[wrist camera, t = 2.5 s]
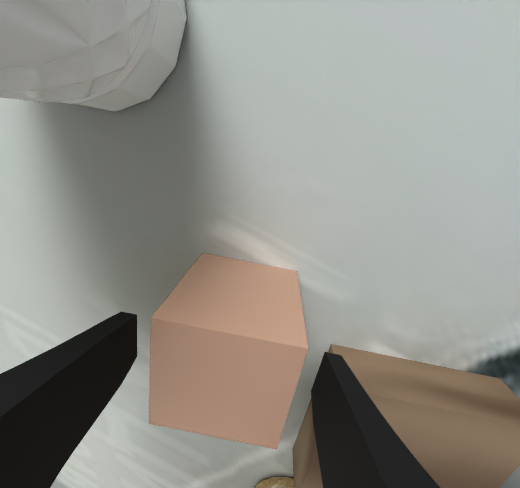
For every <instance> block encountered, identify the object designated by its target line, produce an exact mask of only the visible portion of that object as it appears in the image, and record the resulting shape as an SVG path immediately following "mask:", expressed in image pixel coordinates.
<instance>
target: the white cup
mask: <svg viewBox="0 0 520 488" xmlns="http://www.w3.org/2000/svg"><path fill="white" fill-rule="evenodd" d="M186 20H187V17H186V9H185V1H184V0H0V98H10V99H19V100H24V101H29V102H35V103H39V102H48V101H53V102H60V103H70V104H75V105H81V106H86V107H92V108H97V109H103V110H109V111H115V112H117V111H120V110H122V109H125V108H128V107H130V106H133V105H135V104H138V103H141V102H143V101H146V100H149V99H151V97H152V96H153V95H154V94H155V92H156V91H157V90H158V89H159V87H160V86H161V85H162V84H163V82H164V81H165V80H166V78H167V77H168V76H169V75H170V73H171V72H172V71H173V70H174V68H175V67H176V63H177V59H178V54H179V50H180V46H181V41H182V37H183V33H184V28H185V24H186Z"/></svg>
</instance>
